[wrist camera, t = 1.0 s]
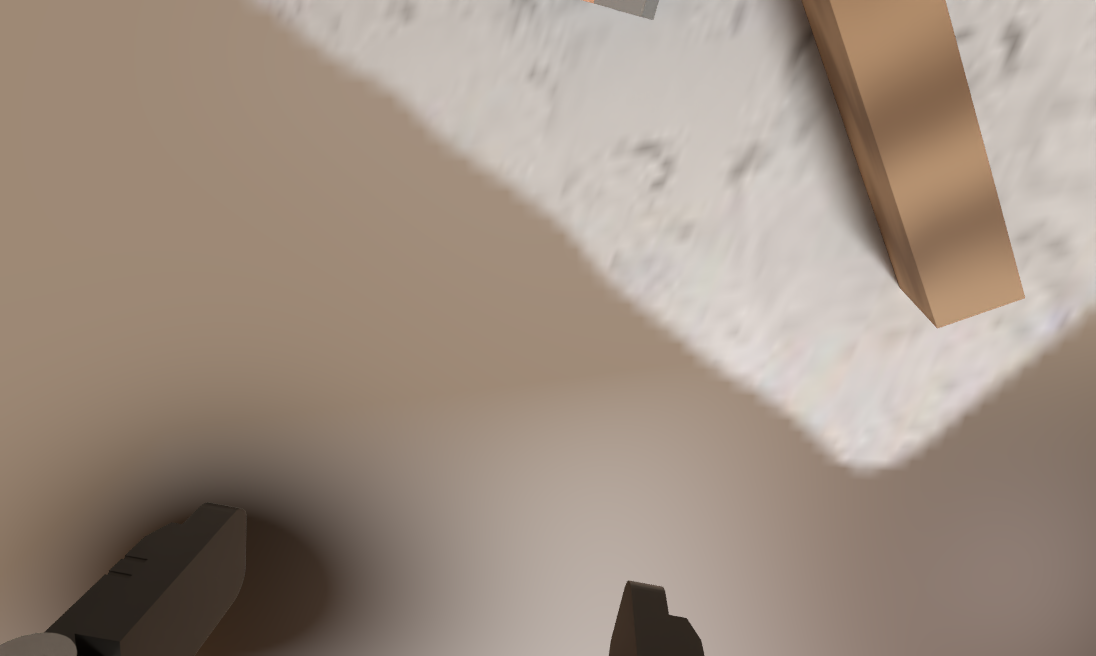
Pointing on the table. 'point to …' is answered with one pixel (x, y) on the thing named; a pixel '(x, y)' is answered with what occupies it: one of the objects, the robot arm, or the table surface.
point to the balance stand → (631, 6)
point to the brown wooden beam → (919, 151)
